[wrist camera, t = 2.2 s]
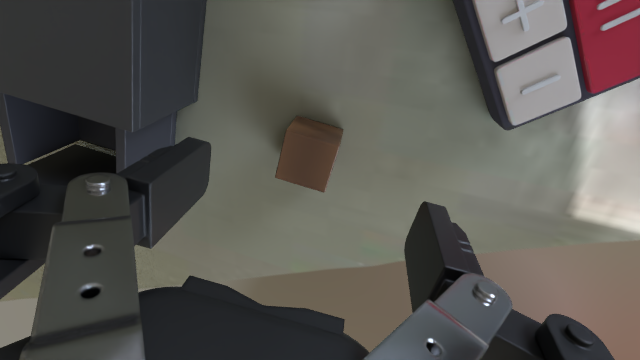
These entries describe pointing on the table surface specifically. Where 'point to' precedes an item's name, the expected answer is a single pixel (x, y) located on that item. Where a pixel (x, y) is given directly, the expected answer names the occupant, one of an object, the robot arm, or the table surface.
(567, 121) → the table surface
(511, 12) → the calculator
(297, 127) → the block
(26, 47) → the cabinet
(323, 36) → the table surface
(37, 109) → the drawer
